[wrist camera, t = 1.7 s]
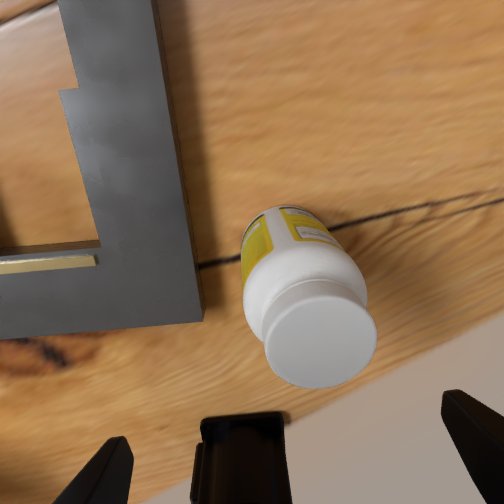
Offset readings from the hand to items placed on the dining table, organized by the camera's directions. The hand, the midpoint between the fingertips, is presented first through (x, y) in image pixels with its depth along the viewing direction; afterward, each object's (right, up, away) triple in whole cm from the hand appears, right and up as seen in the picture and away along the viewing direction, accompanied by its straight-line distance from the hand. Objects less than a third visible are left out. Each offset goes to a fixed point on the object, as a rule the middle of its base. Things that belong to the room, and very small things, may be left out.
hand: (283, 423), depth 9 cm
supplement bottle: (+1, +5, +11) cm, 13 cm away
